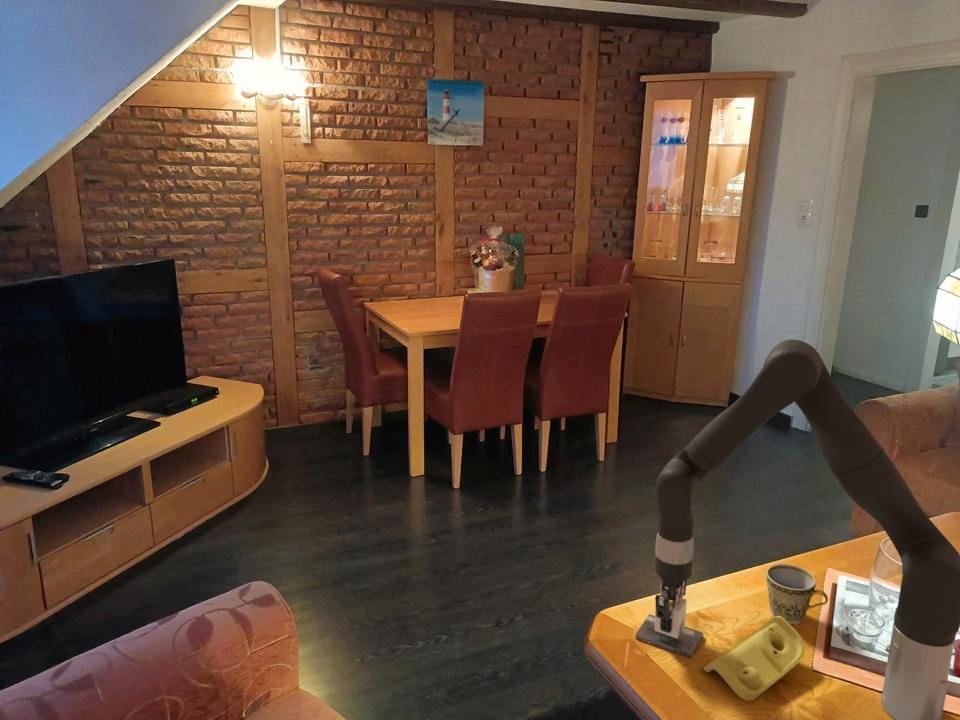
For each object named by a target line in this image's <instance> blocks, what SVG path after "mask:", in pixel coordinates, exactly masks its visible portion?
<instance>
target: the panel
mask: <svg viewBox="0 0 960 720" xmlns="http://www.w3.org/2000/svg"><path fill="white" fill-rule="evenodd" d="M654 628H655V615H652V614H648V615H647V617H646V618H645V620H644V621H643V623H642V624H641V625H640V627H639V629H638V630H637V632H636V633H635V639H637V638H639V639H641V640H640V641H642V640H644V641H643V642H645V641H647V642H650V643H652V644H651V645H653V644H654V645H653V646H656V645H657V646H656V647H658V646H660V647H659V648H661V647H662V648H661V649H664V650H667V651H669V652H673V653H676V654H678V655H680V656H683V657H686V658H687V659H692V658H693V656H694V655H695V653H696V651H697V649H698V647H699V645H700V643H701V641H702V639H703V638H704V632H702V631H699V630H696V629H694V628H690V627H688V626H685V627H684V628H683V627H680V630H679V637H678V639H677V638H674V637H671V636H668V635H666V634H663V633H660V632H657V631H654ZM639 639H638V640H639ZM647 642H646V643H647ZM650 643H649V644H650Z"/></svg>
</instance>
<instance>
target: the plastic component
mask: <svg viewBox="0 0 960 720" xmlns="http://www.w3.org/2000/svg"><path fill="white" fill-rule="evenodd" d="M805 653H806V646H805V642H804V640H803V638H802V636H801V635H800V634H799V633H798V631H797V630H796V629H795V628H794V627H793V625H792V624H789V623H788V622H787V621H786V620H785V619H784V618H783V617H781V616H776V617H773V618H771V619H770V620H769V621H766V622H765V623H764V624H763V625H761V626H760V627H759V628H758V629H756V630H755V631H752V633H750V634H749V635H747V636H746V637H744V638H743V639H742V640H741V641H739V642H738V643H736V644H735V645H734V646H732V647H731V648H729V649H728V650H727V651H725V652H724V653H722V654H721V655H720V656H718V657H717V658H716V659H714V660H712V661H711V662H710V663H708V664H707V665H705V666H704V667H703V668H702V669H703V670H704V671H705V672H706V673H710V672H712V671H715V672H717V673H718V674H719V675H720V676H721V678H722V679H723V680H724V681H725V682H726V683H727V684H728V686H729V687H730V688H731V690H732V691H733V692H734V693H735V695H737V696H738V697H739V698H740V699H742V700H743V701H747V702H749V701H750V702H751V701H754V700H755V699H757V698H758V697H759V696H760V695H762V694H763V693H764V692H765V691H767V690H768V689H769V688H770V687H772V686H773V685H774V684H776V683H777V682H778V681H779V680H781V679H782V678H784V676H785V675H786V674H787V673H789V672H790V671H791V670H793V668H795V667H796V666H797V665H798V663H800V661H802V659H803V658H804V657H805Z"/></svg>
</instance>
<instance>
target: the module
mask: <svg viewBox="0 0 960 720" xmlns="http://www.w3.org/2000/svg"><path fill="white" fill-rule="evenodd" d="M669 601H670V602H672V603H673V600H669ZM654 608H655V611H654V616H655V628H654V631H657V632H660V633H663V634H666V635H668V636H671V637H674V638H677V639H678V637H679V630H680V627H683V628H684V627H686V616H687V615H686V613H687V612H686V611H687V599H685V598H684V597H683V598H678V600H677V606H676V607H675V608H674V609H673V617H672V630H671V632H670V633H667V632H664V631H662V630H661V629H660V623H661V618H658V617H657V616H656V606H655V607H654ZM669 608H670V607H669Z"/></svg>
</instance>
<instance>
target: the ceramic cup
mask: <svg viewBox="0 0 960 720" xmlns="http://www.w3.org/2000/svg"><path fill="white" fill-rule="evenodd" d="M765 575H766V584H767V591H768V601H769V612H770V613H771V616H772V617H773V618H774V617H776V616H781V617H783V618H784V619H785V620H786V621H787V622H788V623H789V624H790V625H795V626H797V625H800V624H801V623H802V622H803V621H804V619H805V617H806V614H807V612H808V610H810V609H813V608H816V607H820V606H824V605H827V603H828V601H829V597H828V595H827V593H826V592H824V591H823V590H820V589H816V585H817V579H816V577H815V576H814V575H813V574H812V573H811V572H810V571H809V570H807V569H805V568H803V567H801V566H798V565H795V564H794V565H793V564H789V563H777V564H773V565H770V567H768V568H767V570H766V574H765ZM815 595H821V597H822V596H823V598H824V599H825V600H824V602H819V603H814V604H813V605H810V603H811V600H812V597H813V596H815Z"/></svg>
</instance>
